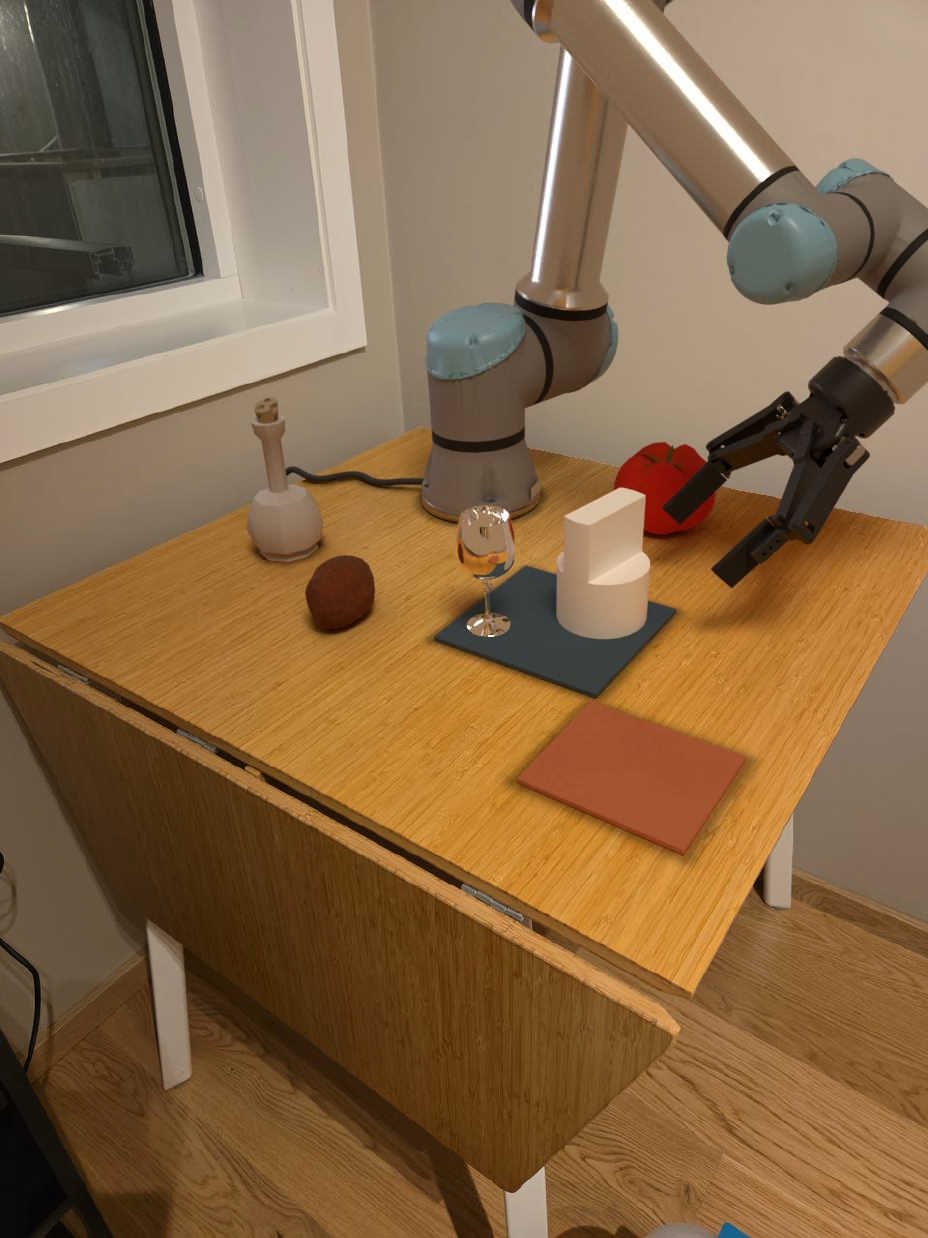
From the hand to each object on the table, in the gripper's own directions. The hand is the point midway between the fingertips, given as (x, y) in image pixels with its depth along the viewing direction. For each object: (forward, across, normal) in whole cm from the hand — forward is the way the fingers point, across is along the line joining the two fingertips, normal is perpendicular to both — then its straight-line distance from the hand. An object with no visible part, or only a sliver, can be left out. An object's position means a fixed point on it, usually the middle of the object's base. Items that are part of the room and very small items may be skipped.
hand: (694, 545), depth 88 cm
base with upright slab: (+11, 0, +2) cm, 11 cm away
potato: (+30, +6, +19) cm, 36 cm away
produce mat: (+14, -23, +4) cm, 27 cm away
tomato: (+2, +19, -8) cm, 21 cm away
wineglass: (+19, 0, +10) cm, 22 cm away
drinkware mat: (+15, -1, +5) cm, 16 cm away
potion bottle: (+34, +23, +24) cm, 48 cm away
